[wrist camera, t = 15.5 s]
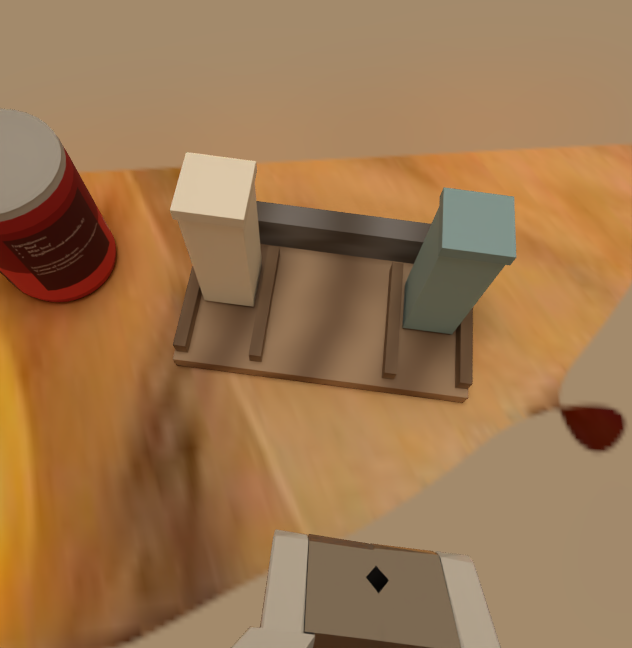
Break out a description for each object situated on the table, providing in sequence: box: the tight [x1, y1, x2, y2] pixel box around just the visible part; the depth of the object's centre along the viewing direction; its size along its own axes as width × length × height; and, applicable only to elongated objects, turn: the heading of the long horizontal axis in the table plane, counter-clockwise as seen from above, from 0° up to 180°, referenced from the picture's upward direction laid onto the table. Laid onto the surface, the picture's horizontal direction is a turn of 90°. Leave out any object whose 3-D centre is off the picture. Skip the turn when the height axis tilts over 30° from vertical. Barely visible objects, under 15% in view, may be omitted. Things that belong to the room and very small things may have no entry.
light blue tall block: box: [402, 188, 516, 334], centre depth 32 cm, size 4×4×11 cm
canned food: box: [0, 109, 116, 302], centre depth 34 cm, size 8×8×11 cm
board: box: [173, 201, 473, 403], centre depth 37 cm, size 20×12×4 cm, turn 83°
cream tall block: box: [170, 152, 262, 307], centre depth 32 cm, size 4×4×11 cm
